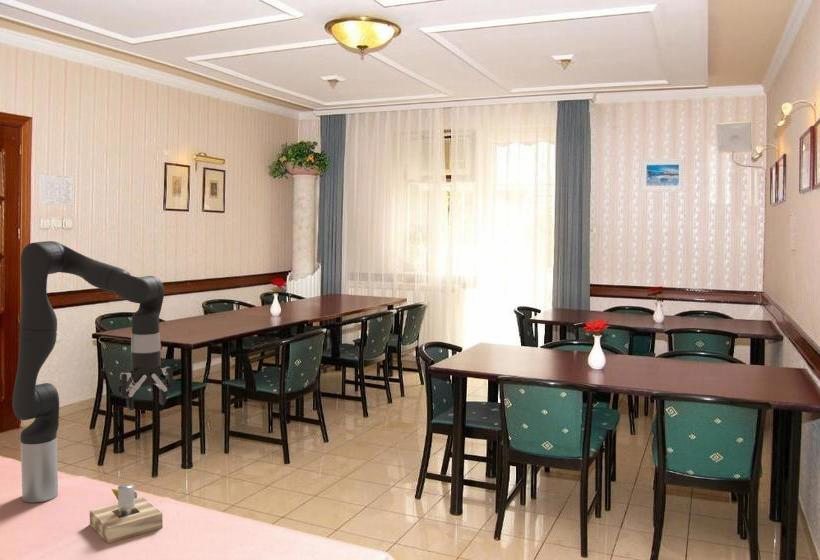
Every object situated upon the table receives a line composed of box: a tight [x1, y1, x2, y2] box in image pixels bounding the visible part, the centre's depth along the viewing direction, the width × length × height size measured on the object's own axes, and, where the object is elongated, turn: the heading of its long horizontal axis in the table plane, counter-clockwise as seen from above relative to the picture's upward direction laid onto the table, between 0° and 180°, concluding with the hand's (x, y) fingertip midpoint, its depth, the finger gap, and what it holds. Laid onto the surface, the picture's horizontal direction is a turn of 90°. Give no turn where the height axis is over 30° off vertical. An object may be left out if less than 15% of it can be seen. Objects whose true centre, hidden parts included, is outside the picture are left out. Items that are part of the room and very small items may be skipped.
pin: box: [117, 482, 135, 518], centre depth 182 cm, size 4×4×10 cm
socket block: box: [89, 496, 164, 544], centre depth 182 cm, size 14×14×4 cm
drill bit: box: [111, 488, 138, 500], centre depth 193 cm, size 5×5×10 cm
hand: (146, 407), depth 189 cm, fingers open, 8 cm apart
